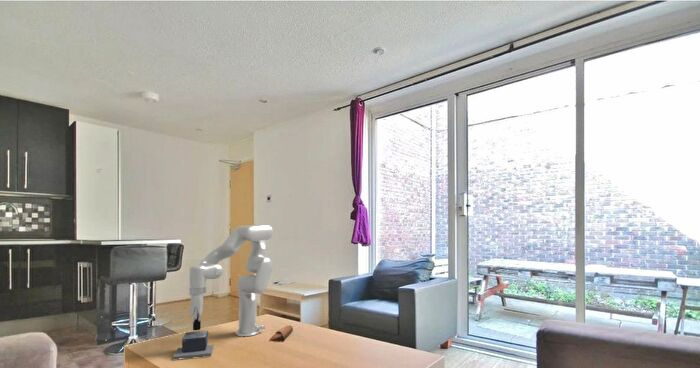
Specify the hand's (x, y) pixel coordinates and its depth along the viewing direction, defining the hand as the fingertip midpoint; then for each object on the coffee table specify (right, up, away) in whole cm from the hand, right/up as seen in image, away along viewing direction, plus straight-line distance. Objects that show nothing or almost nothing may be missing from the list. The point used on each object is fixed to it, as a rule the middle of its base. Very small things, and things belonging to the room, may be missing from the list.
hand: (196, 329), depth 181 cm
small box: (-1, -5, +2) cm, 6 cm away
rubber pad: (+1, -9, -6) cm, 11 cm away
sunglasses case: (+38, -12, +19) cm, 44 cm away
